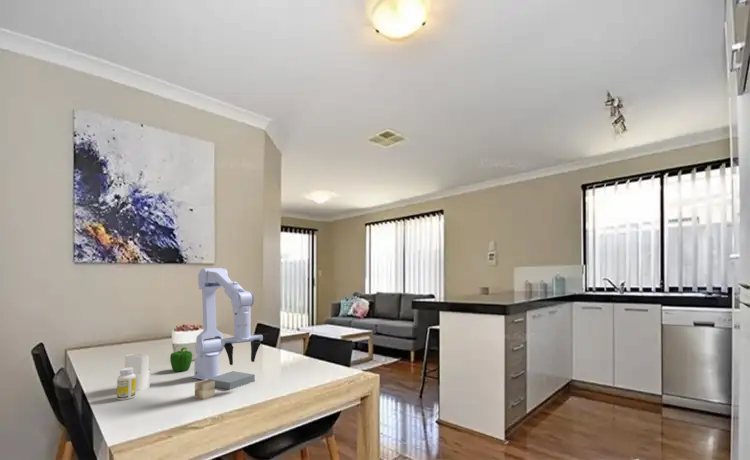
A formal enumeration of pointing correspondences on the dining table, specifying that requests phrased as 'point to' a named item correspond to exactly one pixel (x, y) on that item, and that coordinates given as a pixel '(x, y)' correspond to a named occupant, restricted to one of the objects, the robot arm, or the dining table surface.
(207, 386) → the ash block
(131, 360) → the base with upright slab
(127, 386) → the supplement bottle
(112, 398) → the dining table surface
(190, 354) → the bell pepper
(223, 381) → the slate plinth
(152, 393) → the dining table surface
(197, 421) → the dining table surface
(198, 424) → the dining table surface
